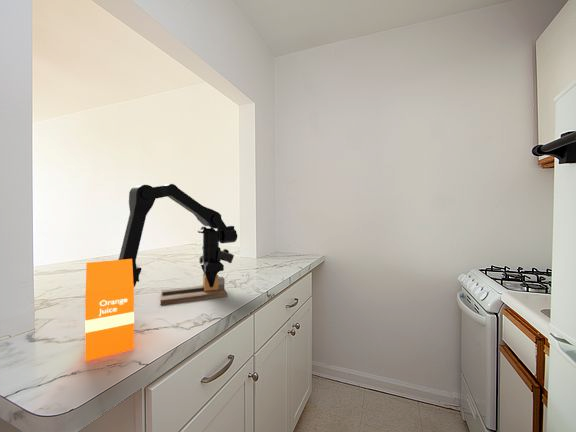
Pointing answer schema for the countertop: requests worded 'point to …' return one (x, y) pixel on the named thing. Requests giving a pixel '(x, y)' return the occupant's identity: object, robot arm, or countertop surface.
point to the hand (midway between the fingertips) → (210, 285)
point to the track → (192, 293)
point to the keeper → (206, 284)
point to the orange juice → (109, 308)
